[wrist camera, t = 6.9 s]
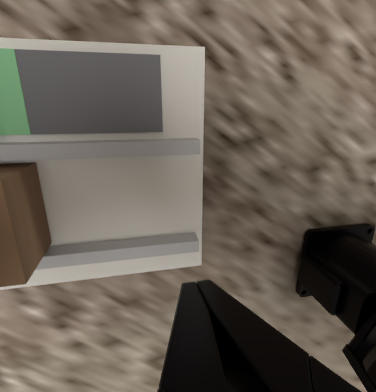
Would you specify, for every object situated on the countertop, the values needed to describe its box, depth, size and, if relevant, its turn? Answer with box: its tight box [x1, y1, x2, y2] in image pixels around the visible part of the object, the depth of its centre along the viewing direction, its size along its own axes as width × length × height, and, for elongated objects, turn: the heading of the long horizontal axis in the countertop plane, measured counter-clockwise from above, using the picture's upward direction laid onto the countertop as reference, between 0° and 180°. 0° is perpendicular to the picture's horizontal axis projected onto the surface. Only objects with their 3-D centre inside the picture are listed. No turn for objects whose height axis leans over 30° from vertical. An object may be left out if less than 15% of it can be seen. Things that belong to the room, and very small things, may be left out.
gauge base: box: [0, 38, 205, 290], centre depth 13 cm, size 19×14×5 cm
